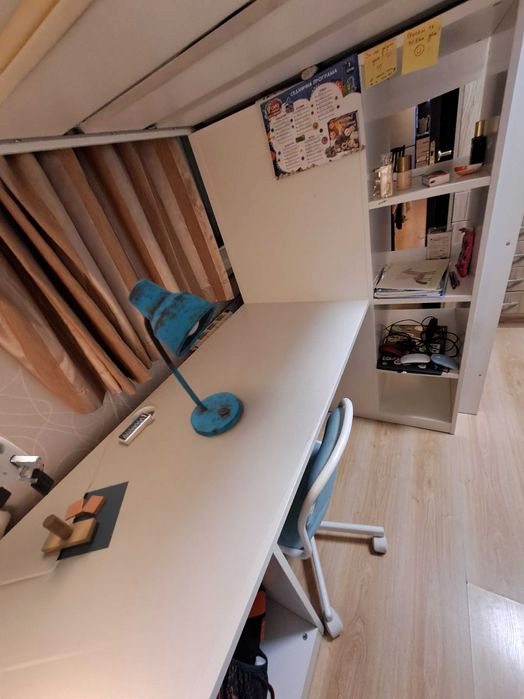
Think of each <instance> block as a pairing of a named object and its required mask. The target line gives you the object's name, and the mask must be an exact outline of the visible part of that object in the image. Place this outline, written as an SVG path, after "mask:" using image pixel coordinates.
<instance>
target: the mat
mask: <svg viewBox="0 0 524 699" xmlns="http://www.w3.org/2000/svg"><path fill="white" fill-rule="evenodd" d="M129 482H130V481H129V480H127V481H124V482H121V483H116V484H113V485H109V486H106V487H102V488H99V489H95V490H91V491H88V492H85V493H84V495H83V497H82V499H83V498H84V499H85V500H86V501H87V502H88V501H89V499H90V498H91V497H92V495H94V496H102V497H105V498H106V499H107V500H106V501H105V503H104V504H103V506H102V508H101V509H100V511H99V512H98V514H97V515H90V514H85V513H84V515H82V516H80V517H78V518H76V519H74V518H73V521H72V523H71V524H73V523H77V522H81V521H84V520H88V519H92V518H94V519H95V520H97V522H99V523H100V524H99V527H98V530H97V532H96V535H95V538H94V541H93V543H92V544H88V545H84V546H81V547H77V548H73V549H69V550H65V551H62V552H60V551H59V553H58V555H57V558H56V560H55V561H56V562H59V561H62V560H66V559H70V558H74V557H77V556H81V555H86V554H89V553H93V552H98V551H100V550H105V549H108V548H109V547H110V544H111V541H112V537H113V534H114V531H115V527H116V525H117V522H118V518H119V515H120V511H121V509H122V506H123V502H124V498H125V495H126V493H127V489H128V486H129ZM87 502H86V504H87Z"/></svg>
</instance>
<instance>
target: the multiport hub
mask: <svg viewBox="0 0 524 699" xmlns="http://www.w3.org/2000/svg"><path fill="white" fill-rule="evenodd" d="M154 420H155V418H154V417H153V416H152V415H151V414H150V413H147V412H141V413H140V414H139V415H138V416H136V418H135V419H134V420H133V421H132V422H131V423H130V424H129V425H128V426H127V427H126V428H125V429H124V430H123V431H122V432H121V433H120V434H119V435H118V436H117V439H118V441H119V442H120V443H123V444H124V445H126V446H128V445H130V444H131V443H132V442H133V441H134V439H136V437H137V436H138V435H139V434H140V433H141V432H142V431H143V430H144V429H145V428H147V427H148V426H149V425H150V424H151V423H152V422H154Z"/></svg>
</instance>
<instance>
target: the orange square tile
mask: <svg viewBox="0 0 524 699" xmlns="http://www.w3.org/2000/svg"><path fill="white" fill-rule="evenodd" d="M106 500H107V499H106V498H105V497H102V496H94V495H92V497H91V498H90V499H89V501H88V502H87V504H86V505H85V507H84V508H83V510H82V512H83V513H85V514H90V515H97V514H98V512H99V511H100V509H101V508H102V506H103V504H104V503H105V501H106Z"/></svg>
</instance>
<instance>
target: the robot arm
mask: <svg viewBox="0 0 524 699" xmlns="http://www.w3.org/2000/svg"><path fill="white" fill-rule="evenodd" d="M42 459H43V458H42V457H41V456H33V455H29V454H28V453H27V452H25V451H24V450H22V448H20V447H18V446H17V445H15V443H12V442H11V441H10V440H8V439H6V438H5V437H3V436H1V435H0V509H3V508H4V506H5V505H6V504H7V502H8V500H9V499H10V498H11V497H12V492H11V491H9V490H8V489H7V488H5V487H4V486H9V485H11V484H14V483H16V482H18V481H20V482H26V483H29V484H30V485H29V486H30V487H31V488H32V489H33V490H35V491H36V492H37V493H39V494H40V495H42V496H43V497H45V496H48V495H49V493H50V492H51V489H52V487H53V486H54V484H55V480H54V478H53V477H51V476H50V475H49V474H47V473H46V472H45V471H44V470H45V468H44V467H45V464H44V462H43V460H42ZM19 469H21V471H19ZM27 471H29V472H31V476H30V475H27V474H25V473H26V472H27Z"/></svg>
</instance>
